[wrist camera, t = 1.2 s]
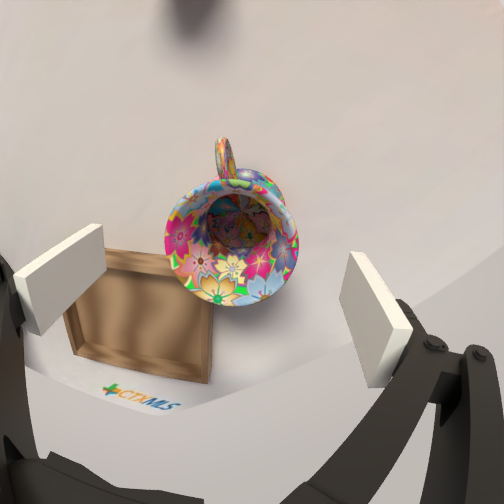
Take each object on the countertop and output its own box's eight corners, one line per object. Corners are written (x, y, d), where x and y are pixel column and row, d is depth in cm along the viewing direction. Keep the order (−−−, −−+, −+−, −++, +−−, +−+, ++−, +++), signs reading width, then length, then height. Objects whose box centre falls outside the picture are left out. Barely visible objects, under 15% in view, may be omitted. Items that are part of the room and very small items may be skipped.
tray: (83, 341, 39) (73, 354, 36) (63, 243, 33) (50, 252, 30) (211, 367, 39) (207, 383, 36) (214, 261, 33) (209, 273, 30)
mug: (292, 249, 32) (301, 302, 22) (204, 256, 33) (178, 309, 23) (282, 131, 28) (289, 130, 18) (187, 143, 28) (146, 150, 19)
